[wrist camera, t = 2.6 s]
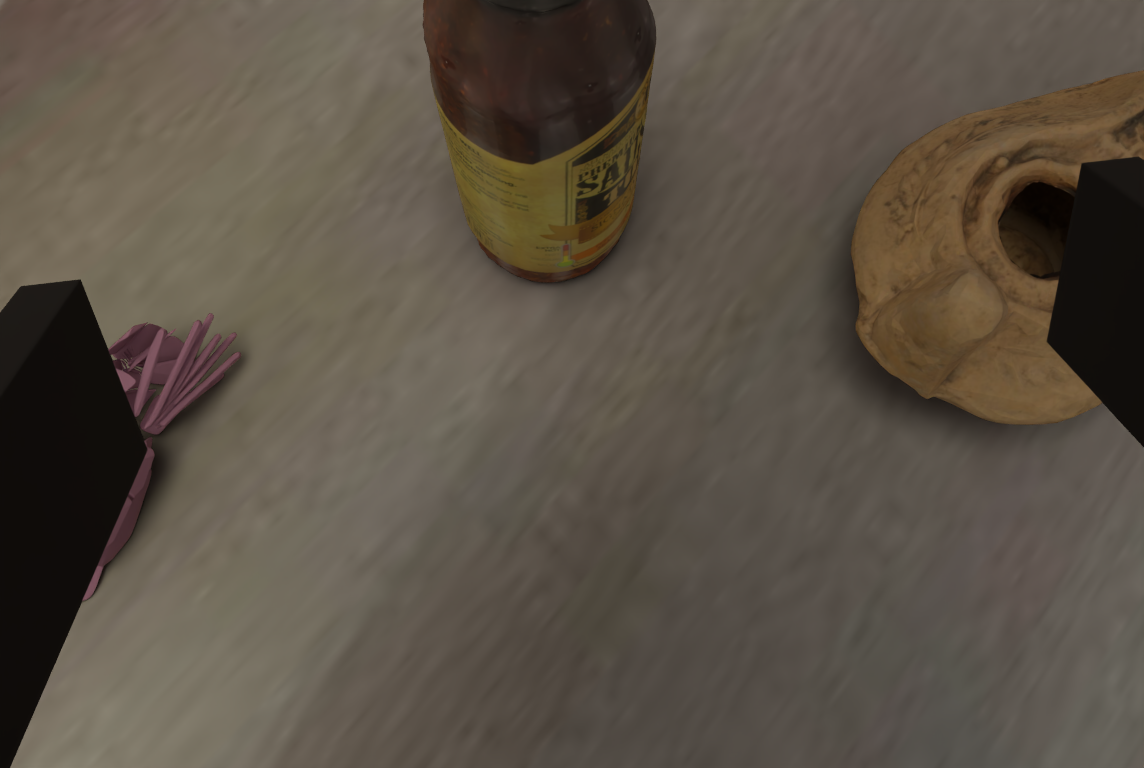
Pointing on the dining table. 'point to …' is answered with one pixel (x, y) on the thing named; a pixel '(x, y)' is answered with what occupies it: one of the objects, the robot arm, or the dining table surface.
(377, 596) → the dining table surface
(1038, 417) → the oil lamp
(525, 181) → the sauce bottle
